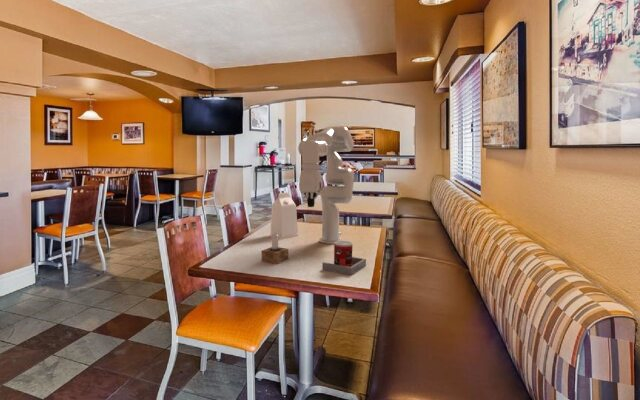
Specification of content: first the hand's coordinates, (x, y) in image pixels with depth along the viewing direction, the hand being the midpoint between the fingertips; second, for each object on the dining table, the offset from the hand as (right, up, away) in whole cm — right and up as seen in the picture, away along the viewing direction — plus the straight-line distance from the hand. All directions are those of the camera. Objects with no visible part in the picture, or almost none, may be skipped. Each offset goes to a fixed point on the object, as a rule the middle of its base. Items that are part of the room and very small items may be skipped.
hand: (310, 206), depth 174 cm
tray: (+15, -27, -10) cm, 32 cm away
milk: (-17, -19, +50) cm, 56 cm away
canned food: (+14, -27, -10) cm, 32 cm away
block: (-17, -25, +1) cm, 30 cm away
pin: (-17, -25, +1) cm, 30 cm away
